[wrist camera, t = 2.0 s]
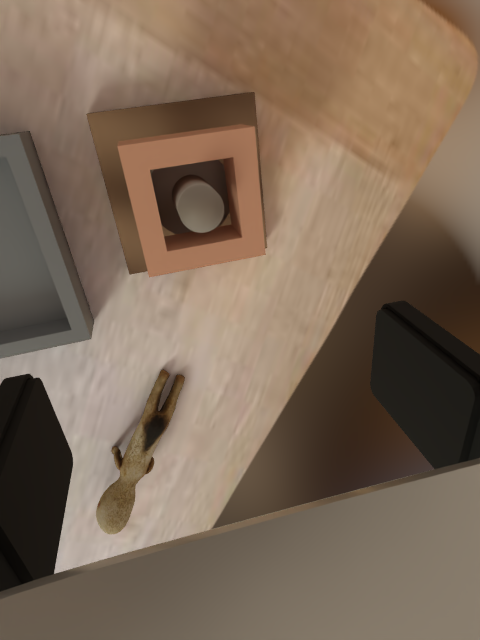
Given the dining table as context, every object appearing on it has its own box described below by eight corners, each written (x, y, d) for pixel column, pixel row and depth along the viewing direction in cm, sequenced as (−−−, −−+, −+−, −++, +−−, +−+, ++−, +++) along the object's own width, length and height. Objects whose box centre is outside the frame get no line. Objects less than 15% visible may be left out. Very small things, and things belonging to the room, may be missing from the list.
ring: (119, 141, 22) (117, 146, 20) (241, 124, 23) (254, 126, 21) (147, 259, 26) (149, 277, 23) (252, 240, 27) (265, 254, 24)
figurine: (149, 357, 35) (87, 504, 37) (157, 377, 31) (87, 542, 32) (187, 368, 36) (126, 509, 38) (200, 390, 32) (131, 546, 34)
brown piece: (87, 113, 24) (73, 116, 18) (250, 92, 25) (287, 88, 19) (129, 269, 29) (129, 313, 23) (263, 244, 30) (296, 278, 24)
